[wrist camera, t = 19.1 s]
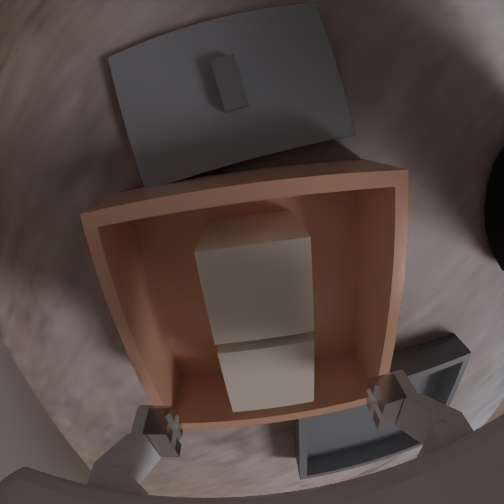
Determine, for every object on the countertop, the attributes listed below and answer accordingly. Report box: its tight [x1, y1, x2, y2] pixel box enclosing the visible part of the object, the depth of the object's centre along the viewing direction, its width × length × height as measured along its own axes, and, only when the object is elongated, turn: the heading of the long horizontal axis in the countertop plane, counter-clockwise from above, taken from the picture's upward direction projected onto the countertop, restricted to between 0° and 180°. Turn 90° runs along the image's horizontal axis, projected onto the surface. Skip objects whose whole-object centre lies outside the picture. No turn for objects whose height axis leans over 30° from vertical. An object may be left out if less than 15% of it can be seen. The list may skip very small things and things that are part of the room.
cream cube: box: [194, 210, 314, 345], centre depth 13 cm, size 4×4×4 cm
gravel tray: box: [294, 334, 471, 479], centre depth 20 cm, size 12×13×2 cm
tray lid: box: [108, 2, 356, 188], centre depth 12 cm, size 7×10×2 cm
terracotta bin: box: [80, 159, 409, 429], centre depth 14 cm, size 12×12×4 cm
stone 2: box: [217, 332, 314, 412], centre depth 14 cm, size 4×4×4 cm
